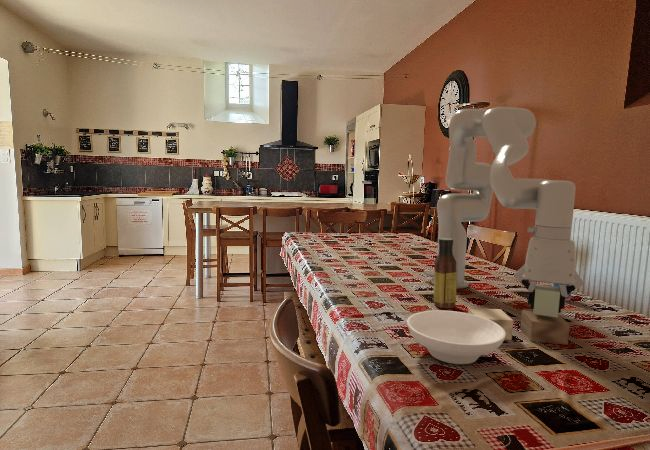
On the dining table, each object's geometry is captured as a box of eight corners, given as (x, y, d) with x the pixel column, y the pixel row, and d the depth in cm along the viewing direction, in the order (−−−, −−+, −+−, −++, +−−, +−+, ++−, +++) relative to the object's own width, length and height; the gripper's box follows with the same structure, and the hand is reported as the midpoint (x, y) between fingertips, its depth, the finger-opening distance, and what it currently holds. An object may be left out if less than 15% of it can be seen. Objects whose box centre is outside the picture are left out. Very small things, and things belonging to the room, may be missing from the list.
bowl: (446, 388, 74) (448, 351, 73) (387, 345, 92) (389, 315, 91) (525, 369, 82) (528, 336, 81) (457, 333, 99) (459, 306, 99)
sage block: (533, 314, 97) (535, 289, 96) (532, 307, 102) (534, 284, 101) (557, 317, 95) (560, 292, 94) (555, 311, 100) (558, 286, 99)
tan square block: (530, 342, 96) (532, 321, 95) (520, 329, 104) (521, 310, 103) (567, 345, 95) (569, 324, 94) (554, 332, 102) (556, 312, 102)
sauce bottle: (455, 304, 122) (460, 237, 120) (455, 310, 116) (459, 241, 114) (433, 301, 124) (436, 236, 122) (431, 307, 118) (435, 239, 116)
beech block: (476, 339, 97) (478, 318, 96) (466, 326, 105) (468, 307, 104) (511, 341, 96) (513, 320, 96) (499, 328, 104) (500, 309, 104)
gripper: (512, 232, 96) (505, 308, 99) (598, 239, 89) (589, 320, 92) (512, 228, 103) (506, 299, 105) (592, 234, 96) (584, 310, 98)
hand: (545, 308), depth 98 cm, fingers closed on sage block, 4 cm apart
